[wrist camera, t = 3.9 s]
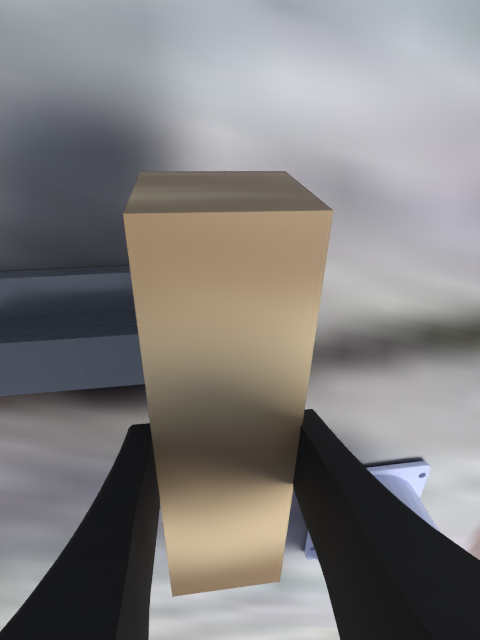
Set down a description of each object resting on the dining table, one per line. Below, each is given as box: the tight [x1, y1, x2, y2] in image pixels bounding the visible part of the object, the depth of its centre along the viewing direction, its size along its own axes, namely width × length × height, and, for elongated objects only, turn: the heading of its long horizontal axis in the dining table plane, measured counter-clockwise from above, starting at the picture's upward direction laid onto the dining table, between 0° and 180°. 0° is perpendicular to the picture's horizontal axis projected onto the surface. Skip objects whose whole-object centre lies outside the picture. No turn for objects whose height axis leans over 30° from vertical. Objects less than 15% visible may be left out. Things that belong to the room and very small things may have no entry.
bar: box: [123, 171, 333, 597], centre depth 13 cm, size 14×4×4 cm, turn 179°
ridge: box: [0, 266, 145, 396], centre depth 18 cm, size 6×14×3 cm, turn 90°
